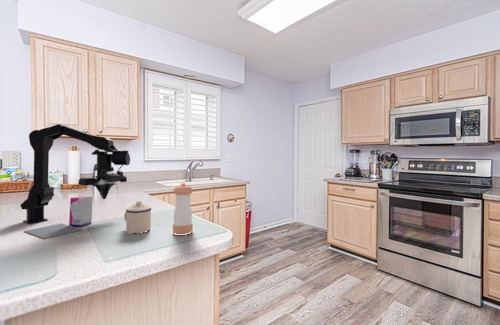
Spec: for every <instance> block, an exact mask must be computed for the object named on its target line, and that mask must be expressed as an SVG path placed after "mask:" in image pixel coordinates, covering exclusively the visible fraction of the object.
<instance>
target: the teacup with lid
mask: <svg viewBox="0 0 500 325" xmlns="http://www.w3.org/2000/svg"><path fill="white" fill-rule="evenodd" d="M125 209H126V210H125V212H124V215H123V216H124V220H125V221H124V222H126V224H125V225H126V228H125V230H126V233H127V234H129V233H141V232H145V231H148V230H149V231H150V230H151V226H152V224H151V223H152V222H151V221H152V219H151V215H152V214H151V212H152V207H151V206H150V205H147V204H145V203H142V200H141V201H140V200H137V201H136V202H135V204H132V205H131V206H128V207H127V208H125ZM149 231H148V232H149ZM145 233H146V232H145ZM141 234H142V233H141Z"/></svg>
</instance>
